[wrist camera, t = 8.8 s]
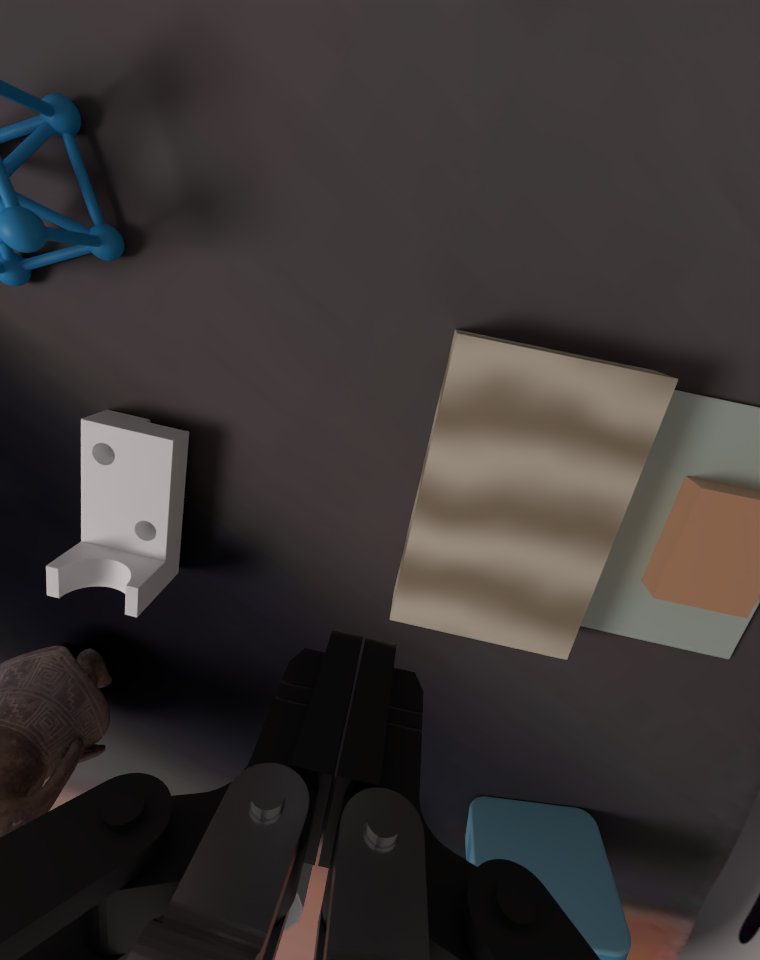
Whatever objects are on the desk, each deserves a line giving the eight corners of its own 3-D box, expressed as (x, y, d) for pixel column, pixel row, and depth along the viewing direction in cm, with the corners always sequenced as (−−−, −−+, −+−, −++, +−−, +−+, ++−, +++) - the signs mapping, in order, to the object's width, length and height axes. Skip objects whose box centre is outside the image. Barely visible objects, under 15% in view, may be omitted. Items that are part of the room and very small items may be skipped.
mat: (655, 385, 36) (657, 386, 36) (849, 426, 36) (853, 427, 35) (565, 620, 43) (566, 622, 43) (726, 656, 43) (729, 659, 42)
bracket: (183, 567, 46) (136, 617, 39) (106, 548, 46) (46, 595, 39) (194, 428, 41) (144, 456, 34) (109, 408, 41) (41, 432, 34)
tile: (804, 509, 35) (782, 495, 37) (701, 488, 35) (685, 475, 38) (747, 618, 38) (729, 599, 40) (653, 598, 38) (641, 580, 41)
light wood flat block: (455, 329, 36) (457, 333, 32) (653, 370, 36) (678, 378, 32) (393, 591, 44) (389, 619, 40) (555, 628, 43) (566, 659, 40)
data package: (464, 824, 52) (471, 969, 41) (468, 792, 51) (477, 934, 40) (585, 840, 51) (625, 993, 40) (593, 808, 50) (638, 958, 39)
